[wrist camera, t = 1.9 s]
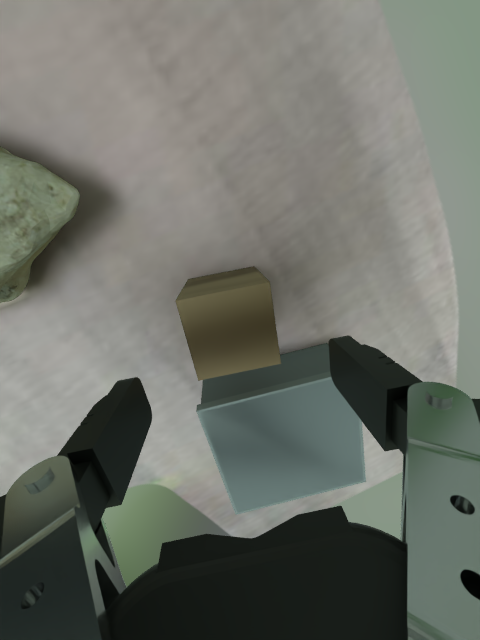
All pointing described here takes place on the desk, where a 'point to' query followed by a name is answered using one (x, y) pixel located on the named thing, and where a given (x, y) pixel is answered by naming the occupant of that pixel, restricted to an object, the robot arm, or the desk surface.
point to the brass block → (229, 322)
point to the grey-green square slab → (282, 431)
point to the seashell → (28, 217)
